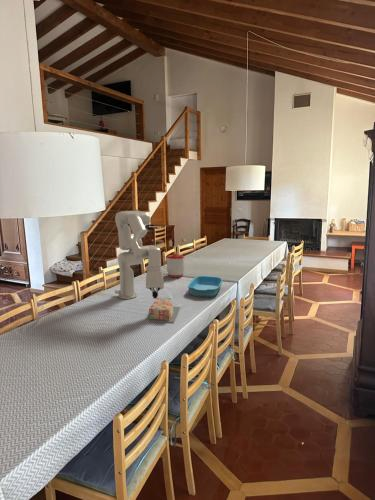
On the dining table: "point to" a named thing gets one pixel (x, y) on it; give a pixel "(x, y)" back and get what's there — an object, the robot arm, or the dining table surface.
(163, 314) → the stack of blocks
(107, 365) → the dining table surface
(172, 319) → the mat
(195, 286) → the casserole dish
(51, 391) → the dining table surface
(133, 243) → the robot arm
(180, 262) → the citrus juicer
